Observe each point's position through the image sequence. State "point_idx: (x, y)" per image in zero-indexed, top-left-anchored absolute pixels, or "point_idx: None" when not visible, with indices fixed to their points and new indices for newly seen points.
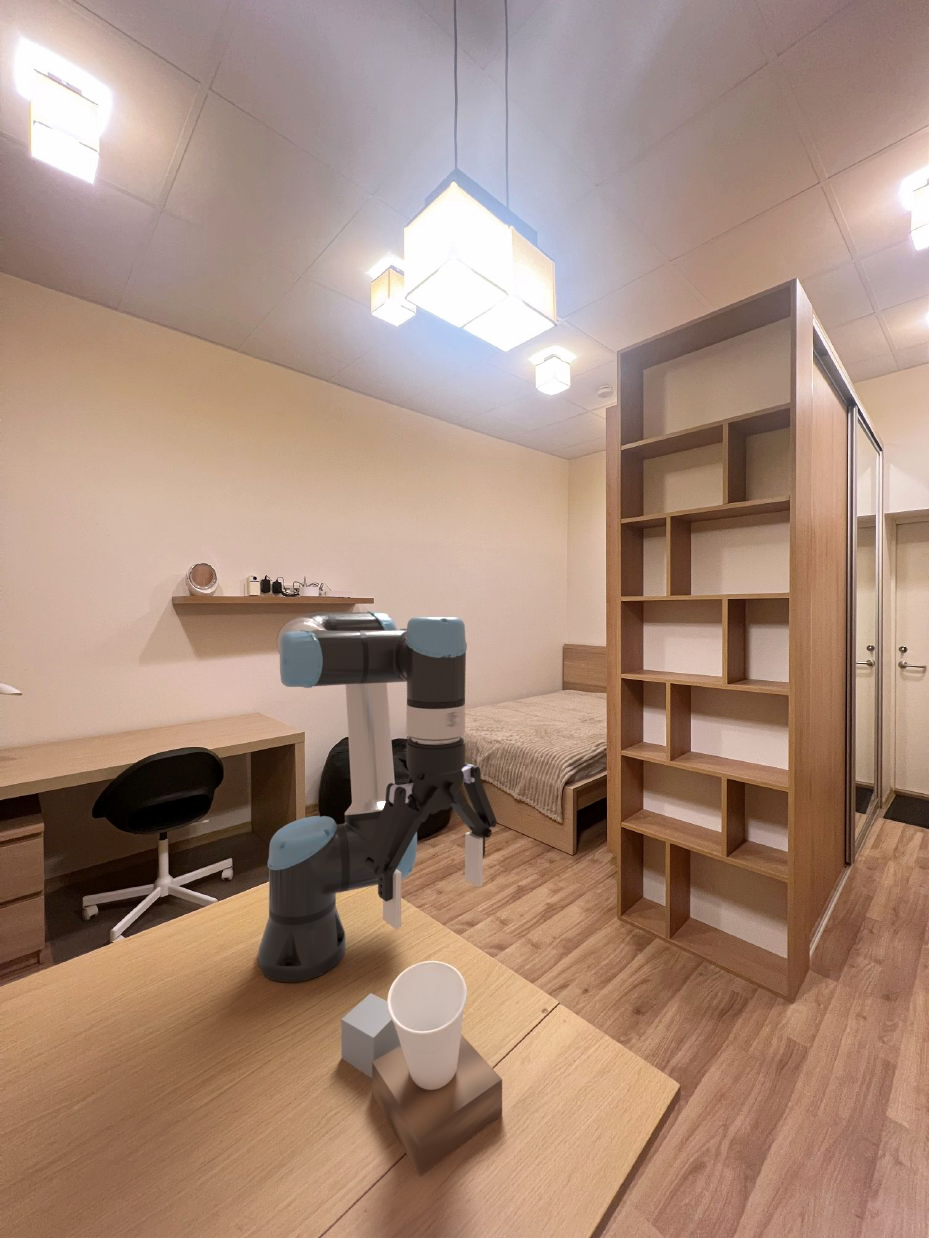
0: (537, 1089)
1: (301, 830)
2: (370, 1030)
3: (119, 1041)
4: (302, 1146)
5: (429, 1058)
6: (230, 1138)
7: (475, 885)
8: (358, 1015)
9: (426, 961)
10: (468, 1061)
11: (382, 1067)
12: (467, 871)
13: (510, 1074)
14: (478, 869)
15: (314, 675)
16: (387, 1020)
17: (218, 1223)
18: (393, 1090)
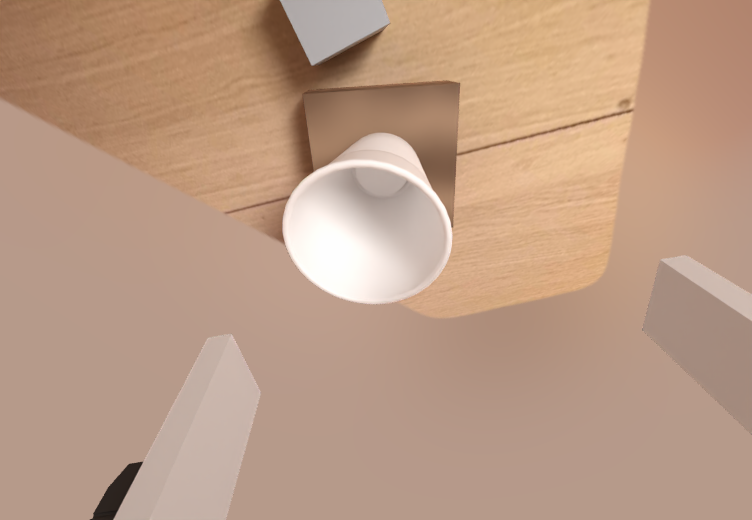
0: (499, 206)
1: None
2: (311, 43)
3: None
4: (202, 109)
5: (347, 243)
6: (94, 32)
7: (645, 316)
8: None
9: (408, 174)
10: (433, 180)
11: (314, 116)
12: (693, 299)
13: (490, 171)
14: (704, 388)
15: None
16: (351, 37)
17: (103, 146)
18: (315, 163)
